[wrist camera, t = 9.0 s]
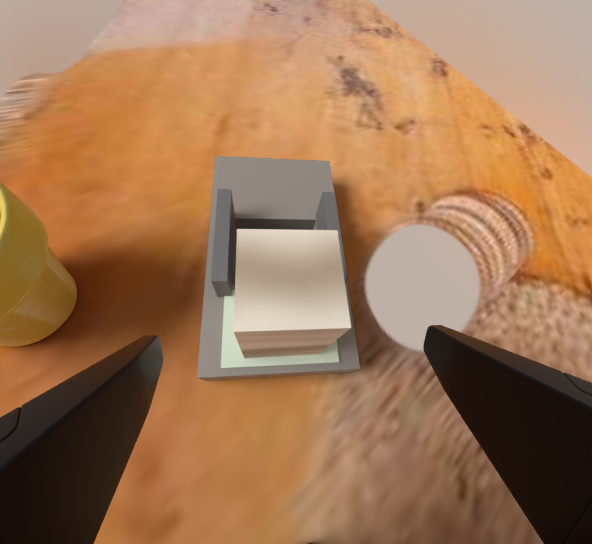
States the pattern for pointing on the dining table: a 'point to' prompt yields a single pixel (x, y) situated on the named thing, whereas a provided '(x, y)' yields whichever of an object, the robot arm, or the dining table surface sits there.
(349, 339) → the tunnel deck
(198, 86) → the dining table surface
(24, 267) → the plant pot
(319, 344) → the cream block
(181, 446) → the dining table surface
